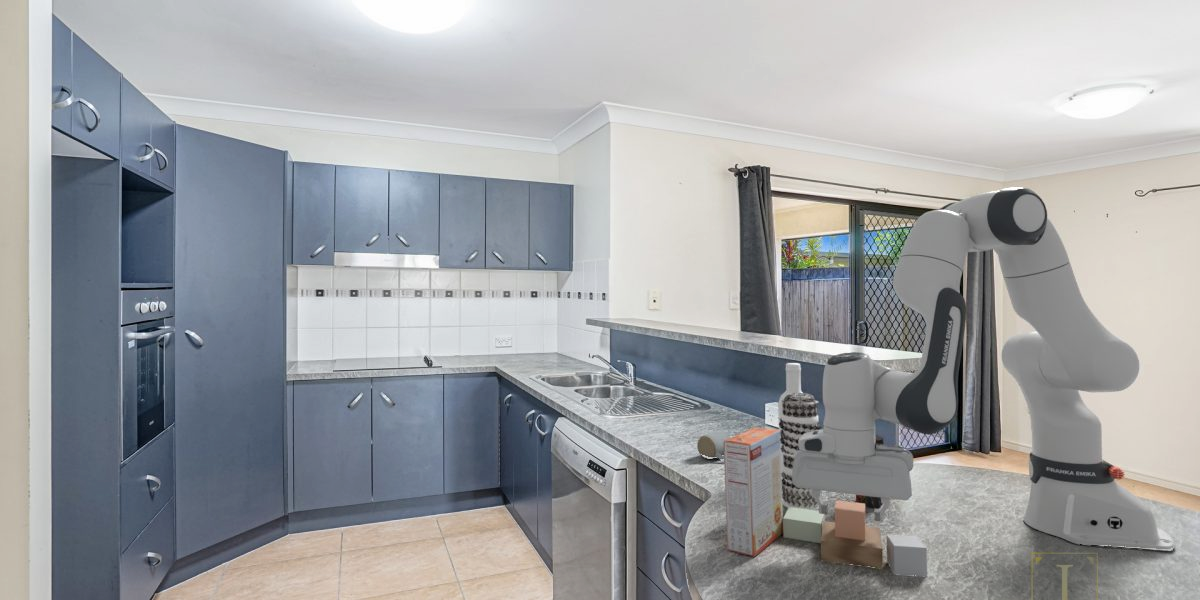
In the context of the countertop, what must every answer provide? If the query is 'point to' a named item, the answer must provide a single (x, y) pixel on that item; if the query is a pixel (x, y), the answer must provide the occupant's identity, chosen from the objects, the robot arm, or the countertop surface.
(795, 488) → the decorative candle
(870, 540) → the walnut block
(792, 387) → the bottle
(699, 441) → the ceramic mug
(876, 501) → the deodorant
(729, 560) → the countertop surface
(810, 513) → the sage block
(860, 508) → the terracotta cube
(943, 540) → the countertop surface
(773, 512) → the cracker box
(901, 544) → the grey cube
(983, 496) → the countertop surface
